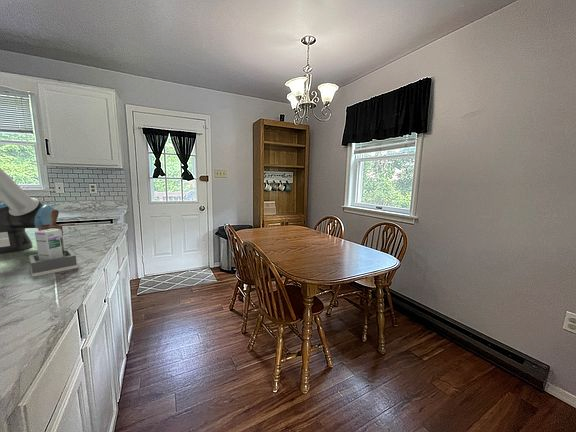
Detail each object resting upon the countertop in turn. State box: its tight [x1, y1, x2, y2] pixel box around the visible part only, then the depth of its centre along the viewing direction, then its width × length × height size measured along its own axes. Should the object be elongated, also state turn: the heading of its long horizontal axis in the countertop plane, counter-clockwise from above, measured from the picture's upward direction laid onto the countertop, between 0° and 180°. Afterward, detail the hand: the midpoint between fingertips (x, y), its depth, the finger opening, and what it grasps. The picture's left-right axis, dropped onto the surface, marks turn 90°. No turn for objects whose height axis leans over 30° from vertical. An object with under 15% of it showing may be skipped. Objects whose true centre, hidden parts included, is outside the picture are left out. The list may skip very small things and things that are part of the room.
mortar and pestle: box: [37, 209, 64, 238], centre depth 124 cm, size 12×9×20 cm
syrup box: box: [34, 229, 65, 261], centre depth 102 cm, size 6×6×14 cm
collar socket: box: [28, 248, 79, 278], centre depth 103 cm, size 13×13×5 cm
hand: (8, 238), depth 95 cm, fingers open, 13 cm apart
